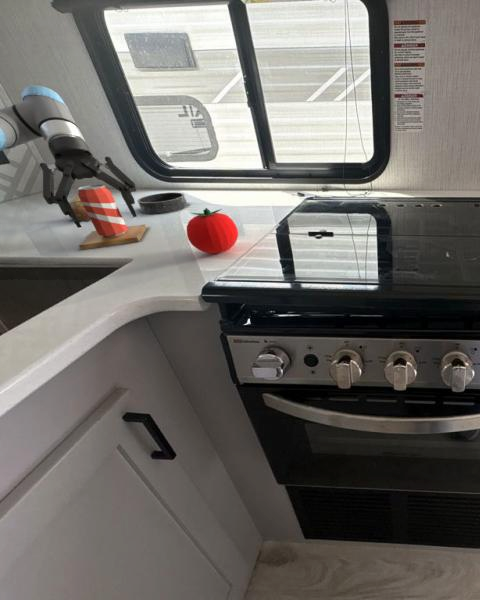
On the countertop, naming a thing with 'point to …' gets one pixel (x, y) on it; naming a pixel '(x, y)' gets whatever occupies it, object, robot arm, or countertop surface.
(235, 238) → the tomato
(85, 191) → the beverage can
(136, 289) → the countertop surface
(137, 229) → the board
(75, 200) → the bread roll
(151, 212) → the pan
